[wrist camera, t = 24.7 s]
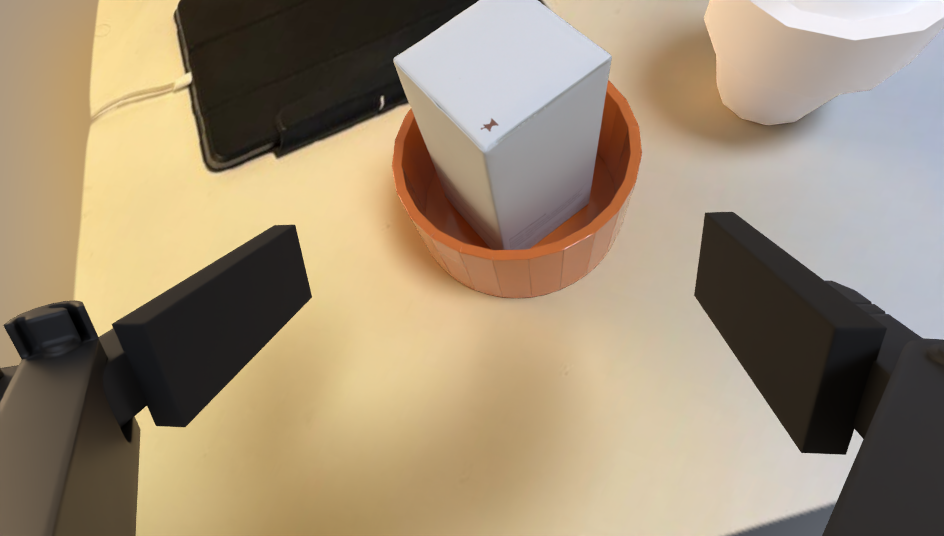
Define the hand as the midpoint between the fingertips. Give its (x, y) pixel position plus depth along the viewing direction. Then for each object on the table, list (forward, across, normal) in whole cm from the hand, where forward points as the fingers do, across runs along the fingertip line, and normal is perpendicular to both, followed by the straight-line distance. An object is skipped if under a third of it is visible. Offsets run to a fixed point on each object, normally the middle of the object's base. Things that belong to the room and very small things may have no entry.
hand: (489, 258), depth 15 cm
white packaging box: (+18, 0, -3) cm, 18 cm away
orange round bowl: (+18, 0, -3) cm, 18 cm away
